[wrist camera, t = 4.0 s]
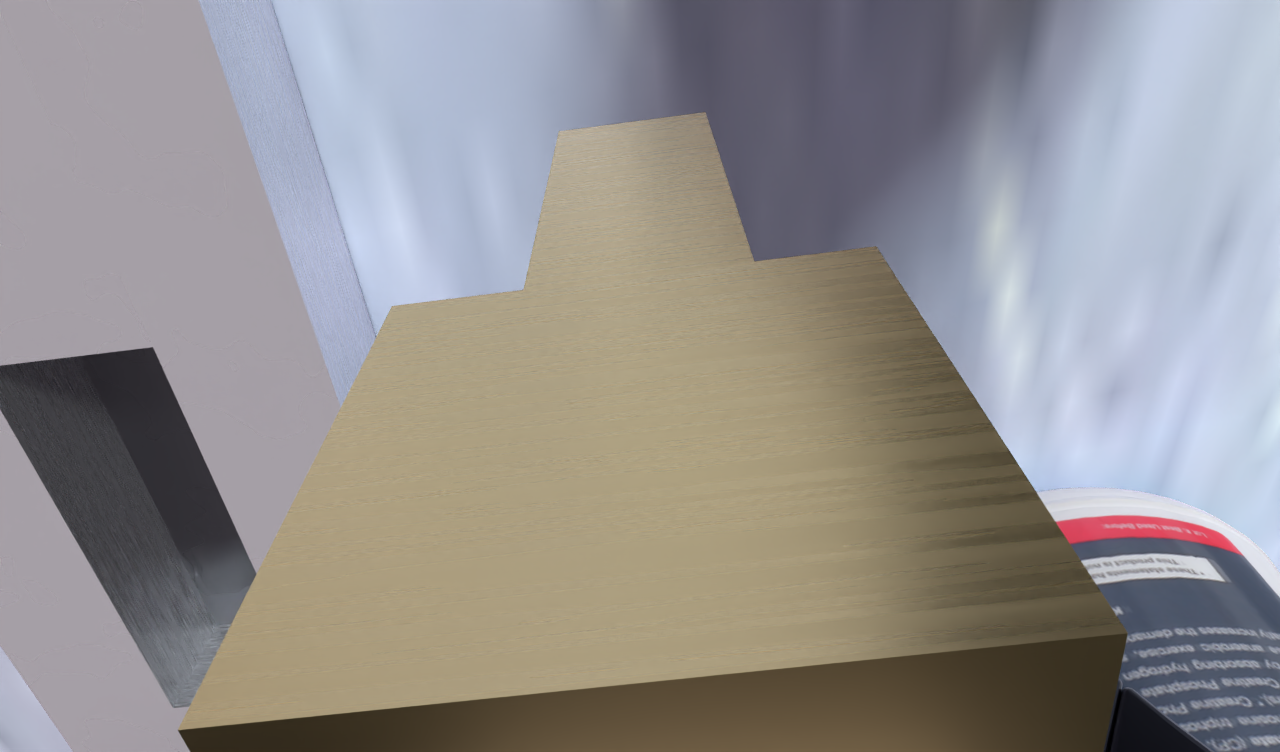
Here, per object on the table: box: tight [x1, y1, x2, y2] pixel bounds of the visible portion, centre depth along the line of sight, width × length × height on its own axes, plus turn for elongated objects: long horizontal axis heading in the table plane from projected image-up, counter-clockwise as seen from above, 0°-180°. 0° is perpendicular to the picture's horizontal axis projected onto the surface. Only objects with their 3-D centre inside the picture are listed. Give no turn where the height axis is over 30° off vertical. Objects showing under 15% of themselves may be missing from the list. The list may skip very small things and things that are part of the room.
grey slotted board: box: [0, 0, 376, 752], centre depth 21 cm, size 10×24×3 cm, turn 7°
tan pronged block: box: [178, 112, 1128, 752], centre depth 7 cm, size 2×7×7 cm, turn 7°
